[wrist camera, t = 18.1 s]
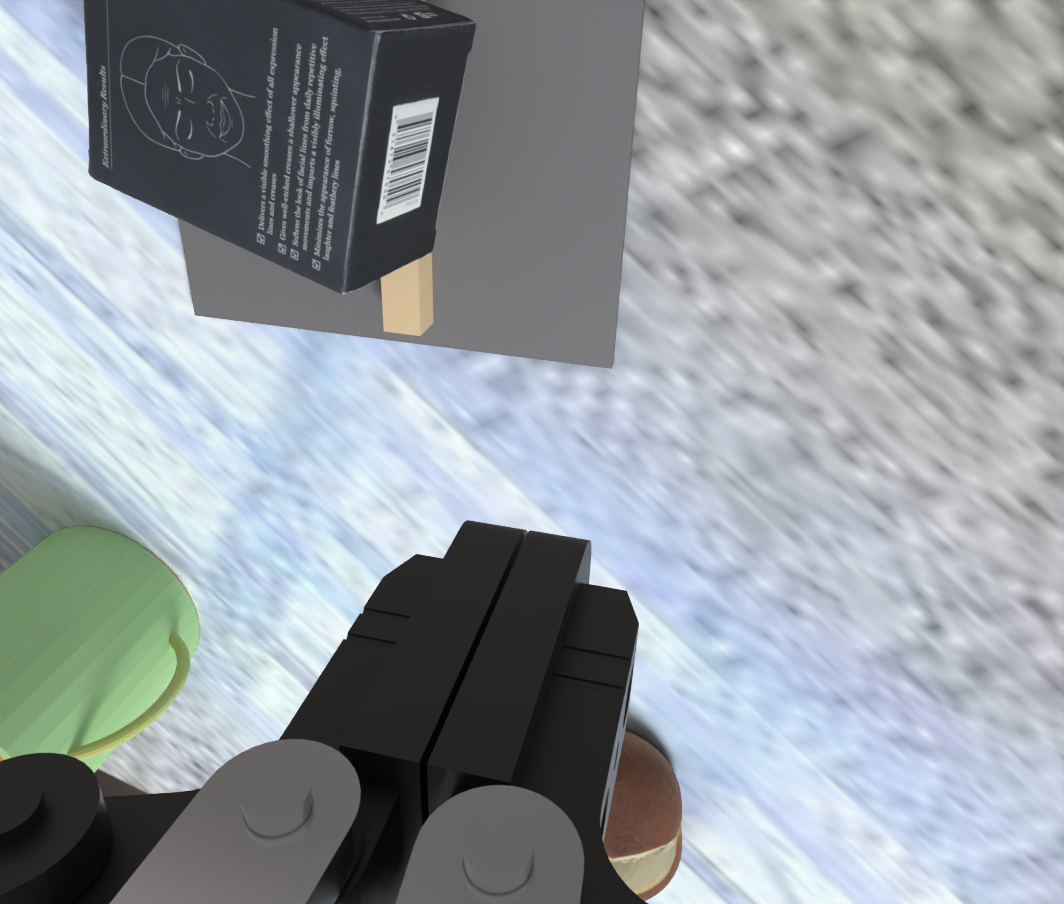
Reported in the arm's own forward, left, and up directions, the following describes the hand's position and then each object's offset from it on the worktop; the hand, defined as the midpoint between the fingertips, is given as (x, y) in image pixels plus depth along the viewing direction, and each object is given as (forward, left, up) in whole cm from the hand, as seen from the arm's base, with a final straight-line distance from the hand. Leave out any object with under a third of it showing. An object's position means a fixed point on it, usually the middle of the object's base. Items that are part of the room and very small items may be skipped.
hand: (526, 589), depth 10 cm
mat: (+11, -1, -23) cm, 26 cm away
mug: (+27, +25, -23) cm, 43 cm away
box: (+8, -1, -18) cm, 19 cm away
